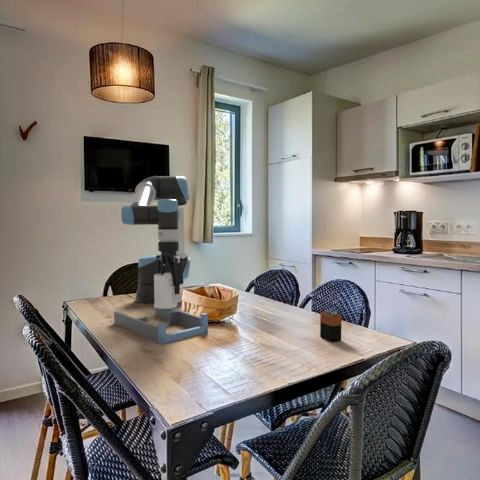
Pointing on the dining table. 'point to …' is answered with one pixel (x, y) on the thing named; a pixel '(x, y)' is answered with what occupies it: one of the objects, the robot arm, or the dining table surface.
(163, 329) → the blue bezel
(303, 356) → the dining table surface
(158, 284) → the mug
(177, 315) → the grey rectangular frame
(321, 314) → the battery
